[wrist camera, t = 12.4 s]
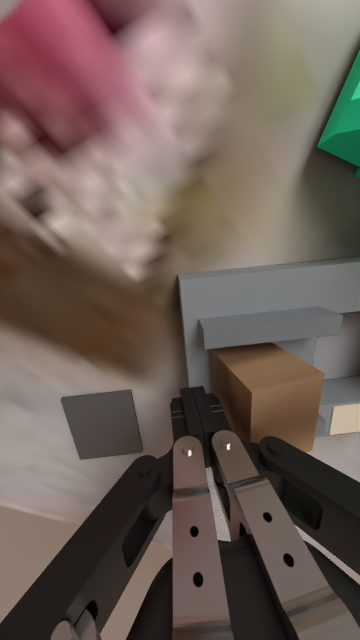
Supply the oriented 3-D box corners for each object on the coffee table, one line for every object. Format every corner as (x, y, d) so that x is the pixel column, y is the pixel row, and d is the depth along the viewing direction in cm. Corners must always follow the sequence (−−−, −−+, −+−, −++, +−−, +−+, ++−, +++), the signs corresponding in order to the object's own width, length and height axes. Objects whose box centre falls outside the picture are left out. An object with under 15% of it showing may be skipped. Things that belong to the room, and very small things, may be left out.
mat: (62, 397, 19) (60, 399, 18) (131, 389, 19) (130, 391, 18) (81, 456, 21) (80, 459, 21) (142, 449, 21) (142, 452, 21)
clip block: (211, 350, 14) (251, 392, 10) (266, 339, 15) (324, 373, 10) (214, 412, 15) (249, 472, 11) (262, 399, 16) (312, 449, 12)
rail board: (177, 274, 16) (182, 288, 10) (412, 251, 16) (544, 252, 11) (191, 423, 20) (200, 491, 15) (375, 402, 21) (454, 459, 15)
